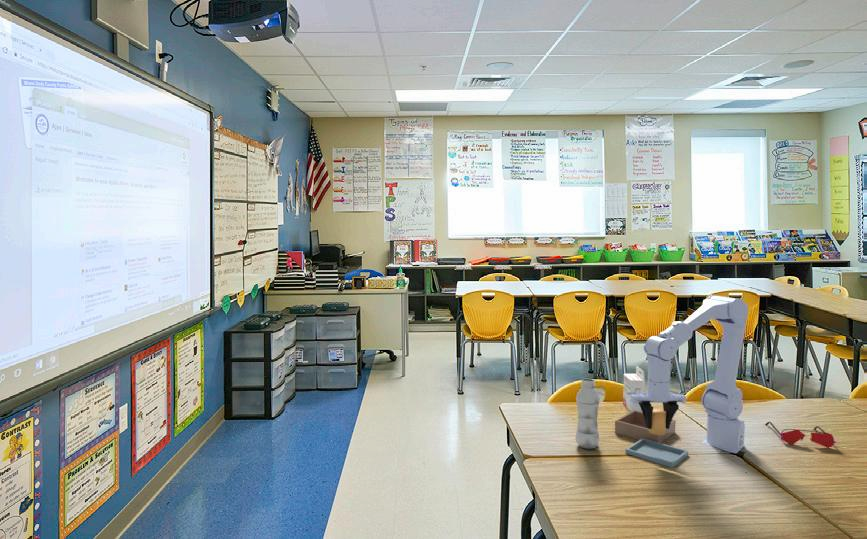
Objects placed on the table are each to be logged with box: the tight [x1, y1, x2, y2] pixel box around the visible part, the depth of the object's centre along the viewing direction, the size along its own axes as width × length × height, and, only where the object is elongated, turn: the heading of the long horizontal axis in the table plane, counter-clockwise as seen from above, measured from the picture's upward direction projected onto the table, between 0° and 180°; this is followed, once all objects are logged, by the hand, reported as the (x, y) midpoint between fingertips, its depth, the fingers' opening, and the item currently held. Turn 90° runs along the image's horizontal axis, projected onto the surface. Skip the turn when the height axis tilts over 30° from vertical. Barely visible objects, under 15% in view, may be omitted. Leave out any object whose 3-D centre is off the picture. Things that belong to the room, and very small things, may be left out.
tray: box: [625, 438, 689, 469], centre depth 149 cm, size 13×11×2 cm
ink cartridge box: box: [622, 365, 646, 412], centre depth 187 cm, size 9×5×15 cm, turn 179°
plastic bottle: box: [575, 377, 600, 450], centre depth 155 cm, size 6×7×20 cm
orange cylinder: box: [649, 408, 666, 435], centre depth 148 cm, size 4×4×6 cm
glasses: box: [764, 421, 837, 448], centre depth 163 cm, size 14×16×5 cm
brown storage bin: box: [614, 410, 677, 443], centre depth 164 cm, size 13×13×4 cm
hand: (657, 427), depth 148 cm, fingers closed on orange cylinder, 4 cm apart
